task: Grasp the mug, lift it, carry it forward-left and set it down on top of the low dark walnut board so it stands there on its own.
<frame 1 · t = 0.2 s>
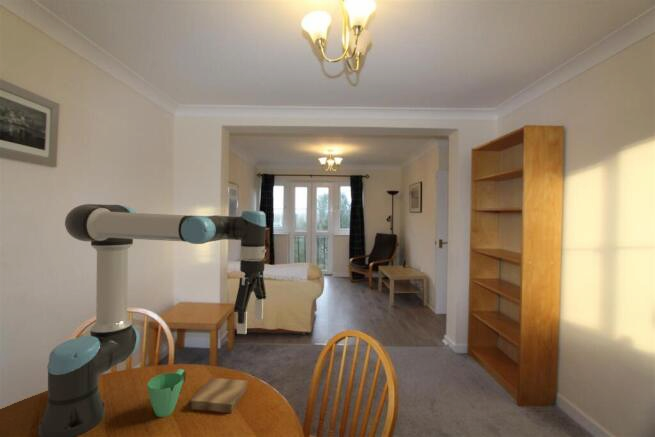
hand: (250, 325, 100), 28 cm above the table, fingers open, 13 cm apart
walnut board: (220, 398, 106), on the table
mug: (169, 407, 101), on the table
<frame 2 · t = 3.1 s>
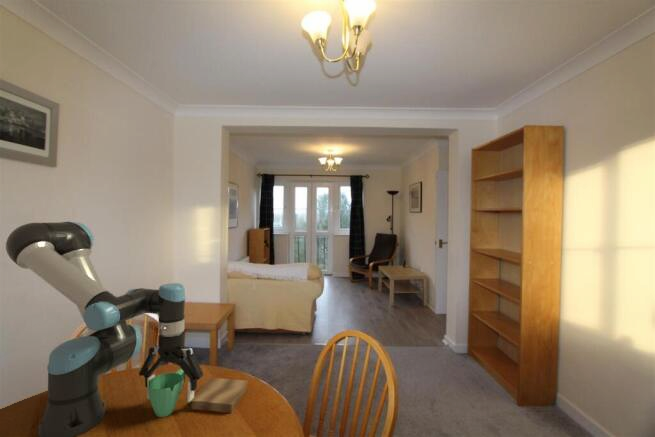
hand: (171, 398, 100), 3 cm above the table, fingers open, 13 cm apart
nothing on the table moved.
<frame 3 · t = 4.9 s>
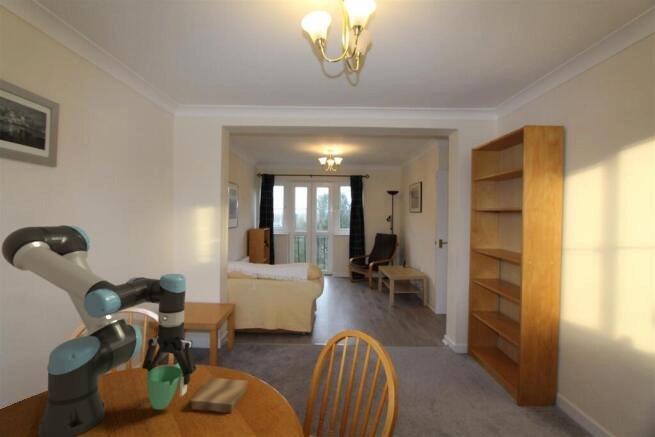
hand: (168, 391, 101), 5 cm above the table, fingers closed on mug, 10 cm apart
mug: (165, 400, 101), point 2 cm above the table, touching gripper
when the fingers open (5 cm above the table, at t = 9.9 s): mug moves 2 cm, resting on walnut board.
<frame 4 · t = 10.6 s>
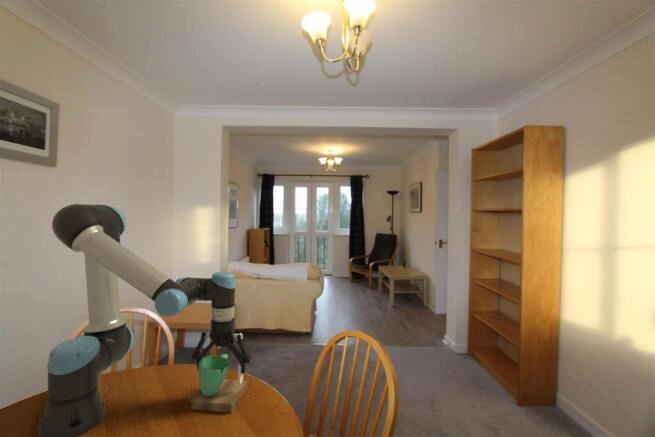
hand: (221, 380, 106), 6 cm above the table, fingers open, 13 cm apart
mug: (212, 389, 106), point 3 cm above the table, touching gripper, walnut board
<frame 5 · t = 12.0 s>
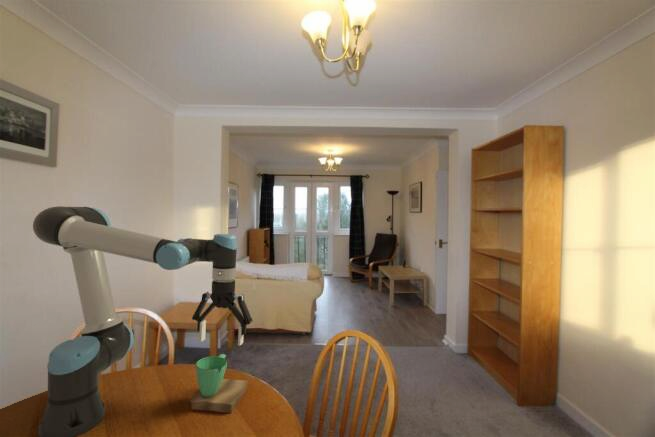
hand: (221, 342, 106), 19 cm above the table, fingers open, 13 cm apart
mug: (212, 389, 106), point 3 cm above the table, touching walnut board
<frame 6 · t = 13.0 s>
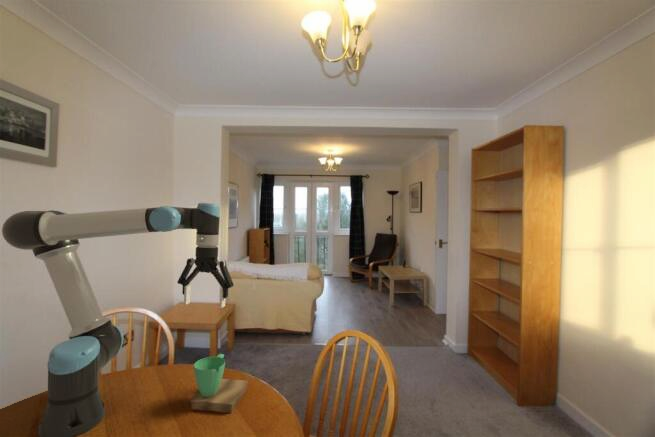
hand: (204, 305, 112), 30 cm above the table, fingers open, 13 cm apart
nothing on the table moved.
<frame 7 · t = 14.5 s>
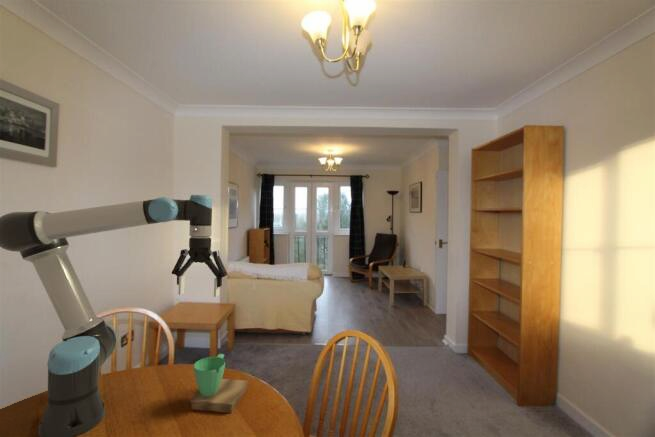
hand: (198, 294, 115), 33 cm above the table, fingers open, 13 cm apart
nothing on the table moved.
at the end: mug inside the target area on the walnut board (2.9 cm from its centre), point 2.8 cm above the walnut board's base; mug tilted 0°; the gripper is holding nothing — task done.
